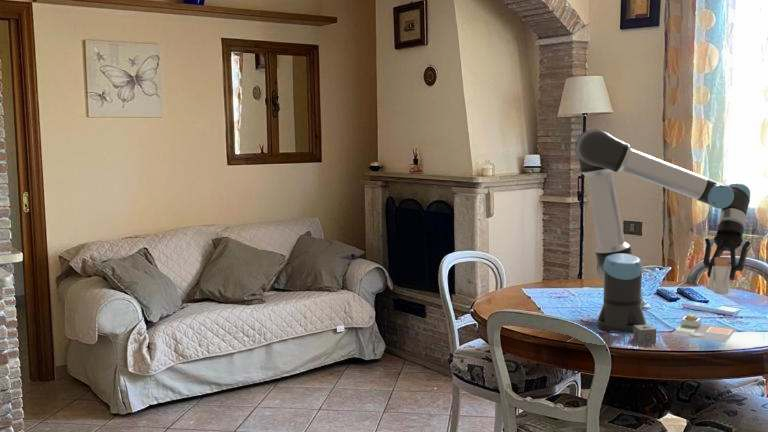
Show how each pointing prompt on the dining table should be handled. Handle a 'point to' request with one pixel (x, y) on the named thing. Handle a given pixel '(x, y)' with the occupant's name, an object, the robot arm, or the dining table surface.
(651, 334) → the grey smiley picture cube
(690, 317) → the button
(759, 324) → the dining table surface
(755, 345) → the dining table surface
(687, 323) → the button housing
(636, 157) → the robot arm
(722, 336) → the grey flat square panel
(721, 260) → the ball
